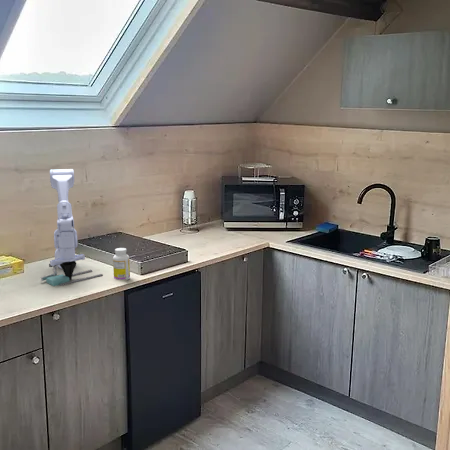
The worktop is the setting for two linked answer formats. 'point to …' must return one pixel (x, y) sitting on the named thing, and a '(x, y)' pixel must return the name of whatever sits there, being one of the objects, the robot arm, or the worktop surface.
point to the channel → (82, 278)
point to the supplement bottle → (121, 264)
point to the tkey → (50, 274)
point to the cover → (57, 280)
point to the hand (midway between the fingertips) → (68, 279)
